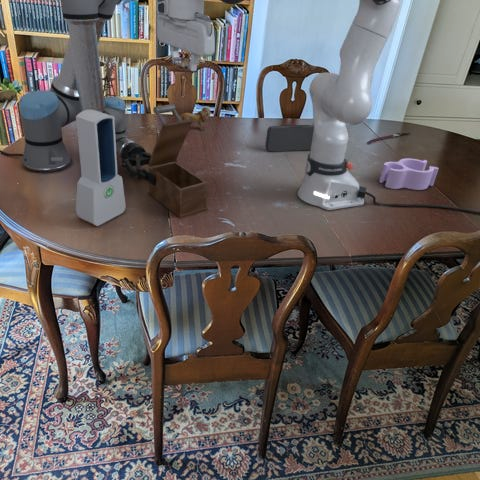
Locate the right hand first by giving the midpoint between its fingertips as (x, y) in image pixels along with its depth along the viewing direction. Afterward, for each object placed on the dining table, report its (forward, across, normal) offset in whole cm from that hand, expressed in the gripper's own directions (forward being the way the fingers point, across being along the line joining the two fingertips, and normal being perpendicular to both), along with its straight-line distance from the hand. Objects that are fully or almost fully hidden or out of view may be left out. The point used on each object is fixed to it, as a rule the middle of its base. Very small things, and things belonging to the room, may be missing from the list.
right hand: (184, 67), depth 123 cm
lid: (+23, +6, 0) cm, 24 cm away
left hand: (+34, +7, 0) cm, 35 cm away
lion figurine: (+41, +51, -45) cm, 79 cm away
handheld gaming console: (+41, +12, -65) cm, 78 cm away
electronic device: (+41, +6, +24) cm, 48 cm away
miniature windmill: (+41, +67, -13) cm, 79 cm away
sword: (+41, -2, -116) cm, 123 cm away
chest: (+41, +2, 0) cm, 41 cm away
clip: (+41, -32, -79) cm, 95 cm away
